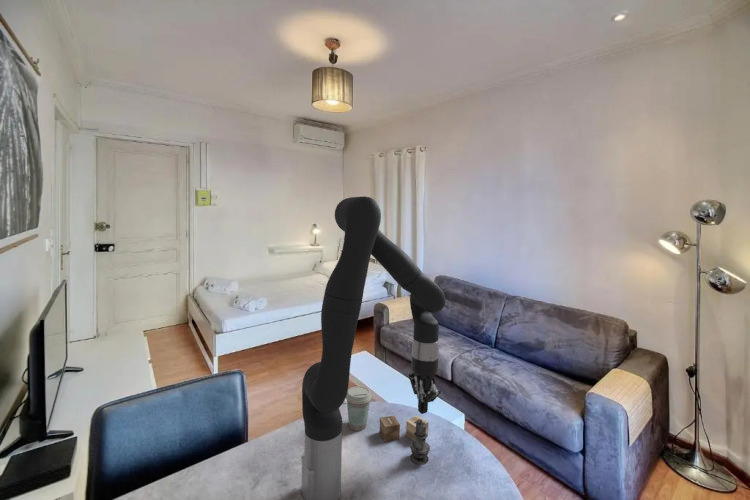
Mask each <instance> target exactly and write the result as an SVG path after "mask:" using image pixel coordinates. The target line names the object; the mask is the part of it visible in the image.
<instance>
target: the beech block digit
mask: <svg viewBox="0 0 750 500" xmlns="http://www.w3.org/2000/svg"><path fill="white" fill-rule="evenodd" d="M420 420H422V422H424V423H425V424H426V434H427V437H426V438H428V437H429V423H430V422H429V421H427V420H426V419H424V418H423V417H421V416H419V415H418V414H417V415H414V416H413V417H411V418H409V419H408V420H406V426H405V429H406V430H405V436H407V438H409V439H410V440H412V441H415V435H414V433H415V432H416V423H417V422H419V421H420Z"/></svg>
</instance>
